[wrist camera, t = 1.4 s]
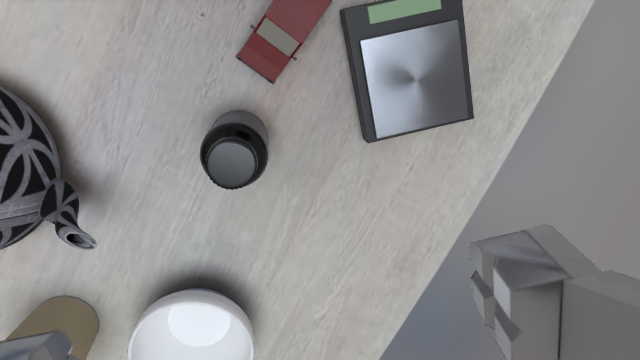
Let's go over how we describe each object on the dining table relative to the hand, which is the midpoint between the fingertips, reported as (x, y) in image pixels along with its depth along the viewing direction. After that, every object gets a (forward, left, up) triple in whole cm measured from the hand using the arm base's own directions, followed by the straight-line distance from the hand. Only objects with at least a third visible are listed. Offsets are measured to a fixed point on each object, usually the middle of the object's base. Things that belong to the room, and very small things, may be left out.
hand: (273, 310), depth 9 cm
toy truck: (-6, +4, -46) cm, 46 cm away
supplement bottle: (+5, -4, -46) cm, 46 cm away
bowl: (+27, -15, -46) cm, 55 cm away
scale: (+1, +17, -46) cm, 48 cm away
